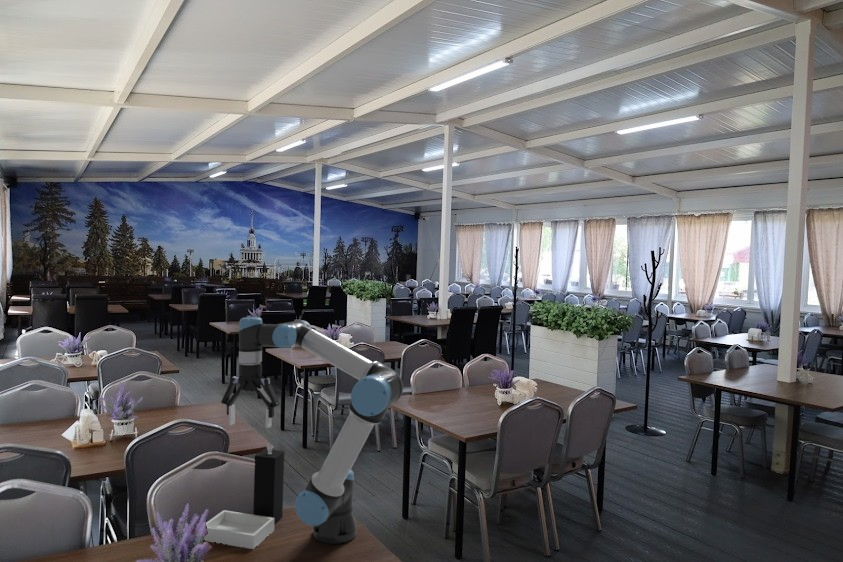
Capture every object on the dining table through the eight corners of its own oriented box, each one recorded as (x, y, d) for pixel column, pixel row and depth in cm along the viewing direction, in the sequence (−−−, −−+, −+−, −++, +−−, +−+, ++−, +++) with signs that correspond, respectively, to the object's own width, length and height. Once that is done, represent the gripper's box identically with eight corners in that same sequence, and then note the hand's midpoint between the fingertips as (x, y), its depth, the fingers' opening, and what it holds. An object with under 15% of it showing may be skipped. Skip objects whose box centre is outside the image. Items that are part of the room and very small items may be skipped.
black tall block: (273, 526, 211) (275, 448, 210) (252, 523, 212) (254, 446, 211) (282, 517, 218) (284, 442, 217) (262, 514, 220) (264, 440, 219)
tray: (274, 530, 208) (274, 518, 208) (253, 549, 194) (253, 535, 194) (223, 522, 212) (223, 510, 212) (199, 540, 199) (200, 526, 199)
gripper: (289, 363, 201) (289, 425, 201) (223, 360, 206) (222, 420, 207) (279, 366, 194) (279, 431, 194) (210, 363, 199) (210, 426, 199)
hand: (250, 426), depth 200 cm, fingers open, 13 cm apart
